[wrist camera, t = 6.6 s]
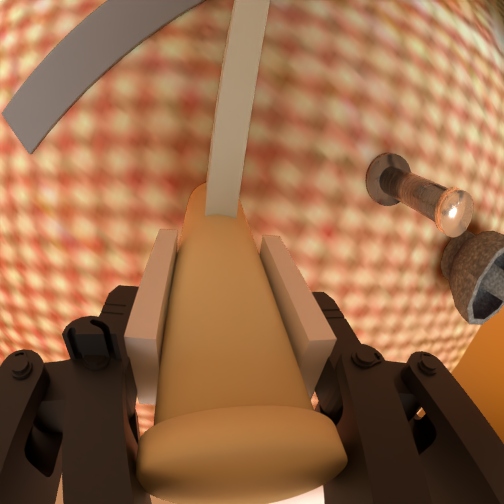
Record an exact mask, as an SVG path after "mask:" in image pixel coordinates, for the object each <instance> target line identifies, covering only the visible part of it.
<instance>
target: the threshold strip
mask: <svg viewBox="0 0 504 504" xmlns="http://www.w3.org/2000/svg"><path fill="white" fill-rule="evenodd" d="M204 1H206V0H107V1H106V2H105V3H103V4H102V5H101V6H100V7H98V8H97V9H96V10H95V11H94V12H92V13H91V14H90V15H89V16H88V17H87V18H85V19H84V20H83V21H82V22H81V23H80V24H79V25H78V26H76V27H75V28H74V29H73V30H72V31H71V32H70V33H69V34H68V35H67V36H66V37H65V38H64V39H63V40H62V41H61V42H60V43H59V44H58V45H57V46H56V47H55V48H54V49H53V50H52V51H51V52H50V53H49V54H48V55H47V56H46V58H45V59H44V60H43V61H42V62H41V63H40V64H39V65H38V67H37V68H36V69H35V70H34V71H33V72H32V74H31V75H30V76H29V77H28V79H27V80H26V81H25V82H24V84H23V85H22V86H21V87H20V89H19V90H18V91H17V93H16V94H15V95H14V97H13V98H12V99H11V101H10V102H9V104H8V105H7V106H6V108H5V109H4V111H3V112H2V115H3V116H4V118H5V120H6V121H7V123H8V124H9V126H10V127H11V129H12V130H13V131H14V133H15V134H16V136H17V137H18V139H19V140H20V141H21V143H22V144H23V146H24V147H25V148H26V150H27V151H28V153H29V154H32V153H33V152H34V151H35V149H36V148H37V147H38V145H39V144H40V143H41V141H42V140H43V139H44V138H45V136H46V135H47V134H48V133H49V131H50V130H51V129H52V128H53V127H54V125H55V124H56V123H57V122H58V121H59V120H60V118H61V117H62V116H63V115H64V114H65V113H66V112H67V111H68V110H69V108H70V107H71V106H72V105H73V104H74V103H75V102H76V101H77V100H78V99H79V98H80V97H81V96H82V95H83V94H84V93H85V92H86V91H87V90H88V89H89V88H90V87H91V86H92V85H93V84H94V83H95V82H96V81H97V80H98V79H99V78H100V77H101V76H102V75H103V74H105V73H106V72H107V71H108V70H109V69H110V68H111V67H112V66H114V65H115V64H116V63H117V62H118V61H119V60H121V59H122V58H123V57H124V56H125V55H127V54H128V53H129V52H130V51H131V50H133V49H134V48H135V47H137V46H138V45H139V44H140V43H142V42H143V41H144V40H146V39H147V38H148V37H150V36H151V35H152V34H154V33H155V32H157V31H158V30H159V29H161V28H162V27H164V26H165V25H167V24H168V23H170V22H171V21H173V20H174V19H176V18H177V17H179V16H180V15H182V14H184V13H185V12H187V11H188V10H190V9H192V8H193V7H195V6H197V5H199V4H200V3H202V2H204Z"/></svg>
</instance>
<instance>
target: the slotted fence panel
mask: <svg viewBox="0 0 504 504" xmlns="http://www.w3.org/2000/svg"><path fill="white" fill-rule="evenodd" d="M269 4H270V0H234V4H233V9H232V14H231V19H230V24H229V29H228V35H227V40H226V45H225V51H224V57H223V63H222V69H221V75H220V81H219V87H218V94H217V101H216V108H215V115H214V122H213V129H212V137H211V145H210V153H209V162H208V170H207V179H206V183H203V184H201V185H200V186H198V187H197V188H196V189H195V190H194V191H193V192H192V194H191V196H190V198H189V201H188V205H187V210H186V214H185V219H184V224H183V228H182V233H181V238H180V243H179V248H178V253H177V258H176V263H175V268H174V274H173V279H172V285H171V291H170V297H169V303H168V309H167V316H166V323H165V330H164V337H163V344H162V352H161V360H160V368H159V375H158V385H157V394H156V405H155V417H154V426H153V427H151V428H150V429H148V430H147V431H145V432H144V434H143V435H142V436H141V437H140V439H139V441H138V449H137V462H136V478H137V479H138V481H139V482H140V484H141V485H142V487H143V488H144V490H145V491H146V492H147V493H149V494H150V495H153V496H155V497H157V498H160V499H163V500H165V501H169V502H173V503H177V504H269V503H274V502H278V501H282V500H286V499H290V498H293V497H296V496H299V495H302V494H304V493H307V492H309V491H312V490H314V489H316V488H318V487H320V486H322V485H324V484H326V483H327V482H329V481H330V480H332V479H333V478H335V477H336V476H337V475H338V474H339V473H340V472H341V471H342V470H343V469H344V468H345V467H346V465H347V462H348V459H347V455H346V453H345V450H344V447H343V445H342V442H341V439H340V437H339V434H338V432H337V429H336V426H335V424H334V423H333V421H332V420H331V419H329V418H328V417H327V416H325V415H323V414H321V413H319V412H316V411H314V409H313V406H312V403H311V400H310V397H309V394H308V392H307V389H306V386H305V383H304V380H303V377H302V374H301V372H300V369H299V366H298V363H297V360H296V357H295V354H294V352H293V349H292V346H291V343H290V340H289V337H288V335H287V332H286V329H285V326H284V323H283V320H282V318H281V315H280V312H279V309H278V306H277V303H276V301H275V298H274V295H273V292H272V289H271V287H270V284H269V281H268V278H267V275H266V273H265V270H264V267H263V264H262V261H261V258H260V256H259V253H258V250H257V247H256V245H255V242H254V239H253V236H252V233H251V231H250V228H249V225H248V222H247V219H246V217H245V214H244V211H243V208H242V206H241V203H240V200H239V194H240V187H241V180H242V173H243V166H244V159H245V152H246V145H247V139H248V132H249V125H250V119H251V112H252V106H253V99H254V93H255V87H256V80H257V74H258V68H259V62H260V56H261V50H262V44H263V38H264V32H265V27H266V21H267V15H268V9H269Z"/></svg>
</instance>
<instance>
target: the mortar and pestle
mask: <svg viewBox="0 0 504 504" xmlns="http://www.w3.org/2000/svg"><path fill="white" fill-rule="evenodd" d="M440 267H441V270H442V274H443V277H445V278H446V279H447V280H449V283H450V287H451V291H452V295H453V299H454V303H455V307H456V308H457V310H458V311H459V313H460V314H461V316H462V317H463V318H464V319H465V320H466V321H467V322H468V323H469V324H479V325H482V324H483V323H485V322H486V321H487V320H489V319H490V318H491V317H492V316H494V315H495V314H496V313H497V312H499V310H500V309H501V307H502V306H503V305H504V235H503V234H500V233H498V232H495V231H486V232H482V233H480V234H478V235H475V234H473V233H471V232H469V231H467V230H465V231H464V232H463V233H462V234H461V235H460V236H458V237H453V238H452V239H451V240H450V242H449V243H448V245H447V246H446V248H445V249H444V252H443V256H442V260H441V264H440Z"/></svg>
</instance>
